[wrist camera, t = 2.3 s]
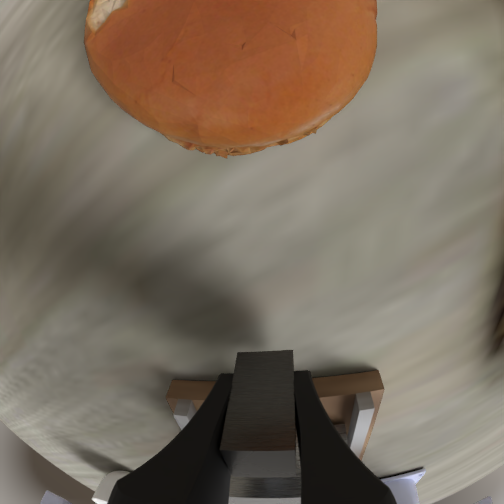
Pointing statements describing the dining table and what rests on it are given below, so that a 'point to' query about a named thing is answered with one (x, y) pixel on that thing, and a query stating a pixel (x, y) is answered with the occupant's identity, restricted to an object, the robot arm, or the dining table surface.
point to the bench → (328, 389)
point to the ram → (263, 430)
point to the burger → (231, 66)
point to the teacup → (107, 486)
